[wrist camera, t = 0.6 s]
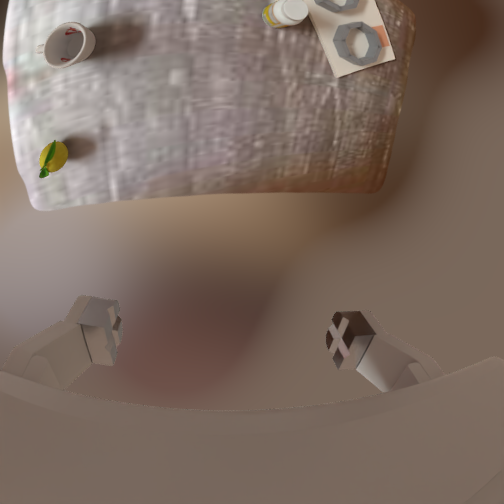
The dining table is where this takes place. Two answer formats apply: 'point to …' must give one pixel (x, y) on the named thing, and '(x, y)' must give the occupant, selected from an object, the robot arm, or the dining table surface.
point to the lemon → (53, 158)
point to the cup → (67, 45)
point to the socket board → (350, 34)
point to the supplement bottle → (285, 13)
